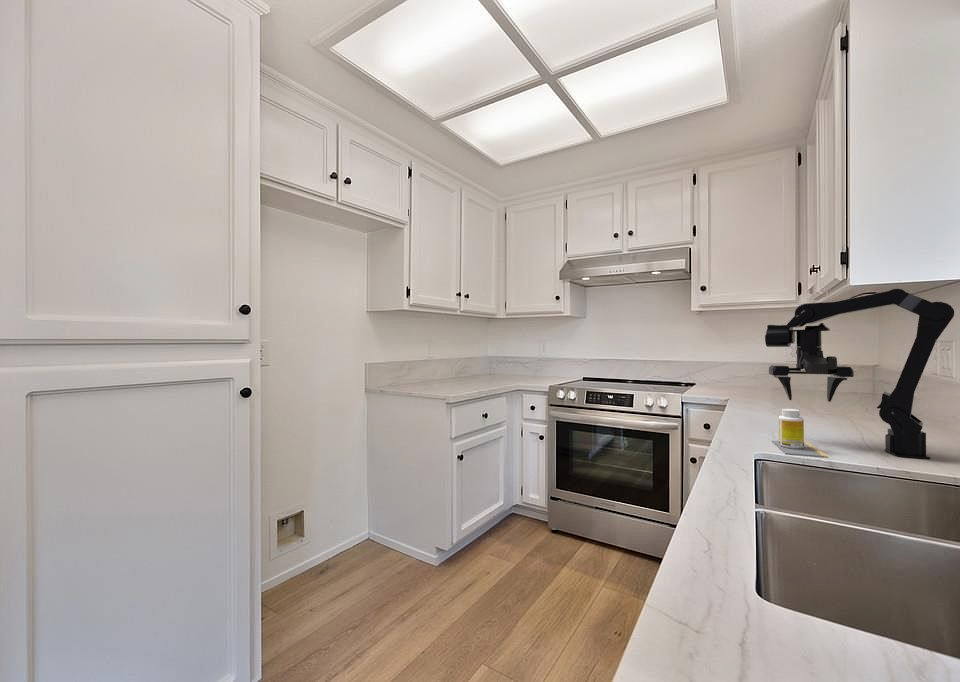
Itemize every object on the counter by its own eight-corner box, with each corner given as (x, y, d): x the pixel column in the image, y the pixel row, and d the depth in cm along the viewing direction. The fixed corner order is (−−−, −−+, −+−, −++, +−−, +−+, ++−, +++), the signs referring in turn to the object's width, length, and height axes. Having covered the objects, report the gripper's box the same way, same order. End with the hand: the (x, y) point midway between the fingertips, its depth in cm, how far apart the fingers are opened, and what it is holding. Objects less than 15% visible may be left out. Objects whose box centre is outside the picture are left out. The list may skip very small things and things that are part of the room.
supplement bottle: (808, 449, 112) (808, 411, 112) (786, 449, 113) (785, 411, 113) (796, 444, 118) (795, 408, 118) (774, 444, 119) (774, 408, 119)
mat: (808, 444, 120) (808, 442, 120) (827, 457, 106) (827, 455, 106) (771, 441, 123) (771, 440, 123) (785, 454, 109) (785, 452, 109)
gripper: (777, 347, 118) (778, 403, 118) (862, 347, 111) (862, 406, 111) (768, 347, 129) (768, 398, 128) (845, 346, 121) (845, 400, 121)
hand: (809, 400), depth 122 cm, fingers open, 9 cm apart
